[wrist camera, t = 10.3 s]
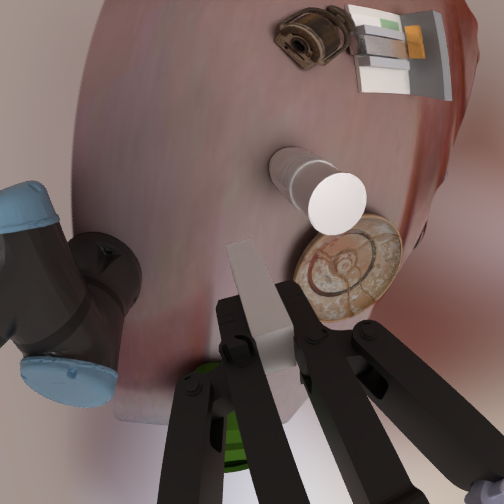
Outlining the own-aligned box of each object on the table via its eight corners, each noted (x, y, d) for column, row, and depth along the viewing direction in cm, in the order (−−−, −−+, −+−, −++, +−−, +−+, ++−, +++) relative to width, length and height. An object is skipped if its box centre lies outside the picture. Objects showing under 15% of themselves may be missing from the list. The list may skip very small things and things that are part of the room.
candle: (259, 152, 36) (300, 184, 24) (304, 138, 37) (363, 163, 24) (272, 195, 40) (313, 245, 28) (314, 180, 40) (369, 222, 28)
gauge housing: (358, 91, 34) (396, 95, 26) (344, 5, 26) (379, -8, 18) (414, 94, 35) (451, 101, 28) (403, 18, 27) (440, 13, 19)
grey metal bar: (350, 54, 29) (375, 51, 24) (344, 20, 26) (368, 12, 21) (400, 60, 30) (426, 60, 25) (395, 29, 27) (420, 26, 22)
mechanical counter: (266, -1, 21) (301, 65, 24) (357, -12, 20) (391, 49, 23) (261, 22, 28) (290, 79, 31) (340, 8, 26) (367, 61, 30)
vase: (170, 391, 61) (179, 478, 41) (170, 344, 52) (178, 457, 32) (244, 389, 67) (266, 470, 47) (261, 344, 58) (295, 444, 37)
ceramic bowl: (298, 323, 57) (307, 340, 53) (268, 233, 44) (278, 249, 40) (389, 279, 57) (401, 293, 53) (386, 186, 44) (404, 196, 40)
